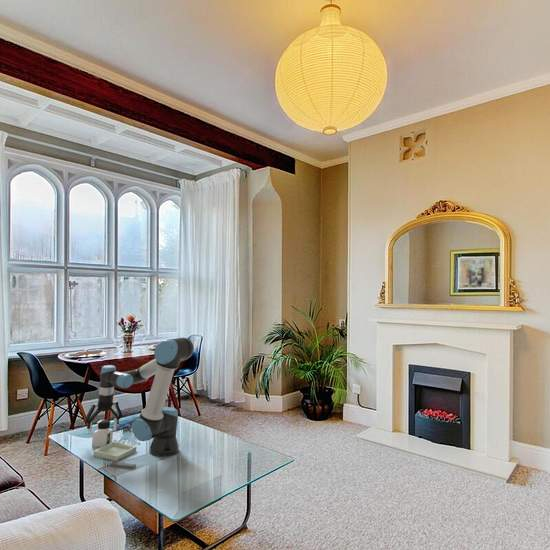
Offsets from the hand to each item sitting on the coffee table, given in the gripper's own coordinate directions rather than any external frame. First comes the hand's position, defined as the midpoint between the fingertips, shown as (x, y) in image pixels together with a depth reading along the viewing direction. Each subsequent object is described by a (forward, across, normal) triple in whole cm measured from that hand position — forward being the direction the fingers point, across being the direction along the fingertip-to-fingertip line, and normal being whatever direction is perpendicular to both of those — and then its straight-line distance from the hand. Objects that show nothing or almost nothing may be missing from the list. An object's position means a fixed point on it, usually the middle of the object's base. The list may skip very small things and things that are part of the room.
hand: (102, 432), depth 226 cm
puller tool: (+6, 0, +33) cm, 34 cm away
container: (+7, 0, 0) cm, 7 cm away
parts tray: (+6, -2, +16) cm, 17 cm away
